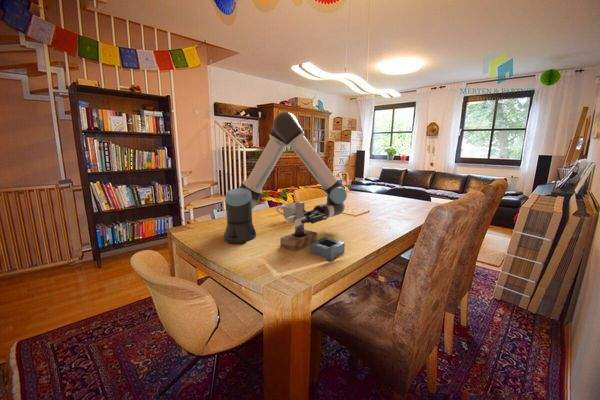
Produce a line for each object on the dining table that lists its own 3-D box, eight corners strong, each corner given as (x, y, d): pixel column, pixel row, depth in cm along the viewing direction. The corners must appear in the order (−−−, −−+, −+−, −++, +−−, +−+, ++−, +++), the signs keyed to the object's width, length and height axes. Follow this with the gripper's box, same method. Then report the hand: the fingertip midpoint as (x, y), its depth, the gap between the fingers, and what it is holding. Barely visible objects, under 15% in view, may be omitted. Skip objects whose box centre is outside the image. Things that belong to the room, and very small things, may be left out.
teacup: (276, 219, 157) (276, 203, 155) (300, 218, 159) (300, 202, 157) (276, 224, 146) (276, 207, 144) (303, 224, 147) (303, 207, 145)
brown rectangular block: (294, 253, 106) (294, 242, 105) (280, 248, 111) (280, 237, 110) (317, 242, 118) (317, 232, 117) (303, 239, 123) (303, 229, 122)
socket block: (330, 262, 99) (331, 249, 98) (310, 255, 105) (310, 243, 104) (344, 254, 106) (344, 242, 105) (324, 248, 112) (324, 237, 111)
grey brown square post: (297, 244, 112) (298, 204, 108) (293, 241, 115) (293, 202, 112) (305, 242, 114) (306, 203, 110) (301, 240, 117) (301, 201, 114)
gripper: (337, 222, 121) (307, 234, 104) (309, 216, 132) (277, 226, 114) (338, 207, 120) (307, 217, 102) (309, 202, 131) (277, 210, 113)
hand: (291, 222), depth 108 cm, fingers closed on grey brown square post, 4 cm apart
